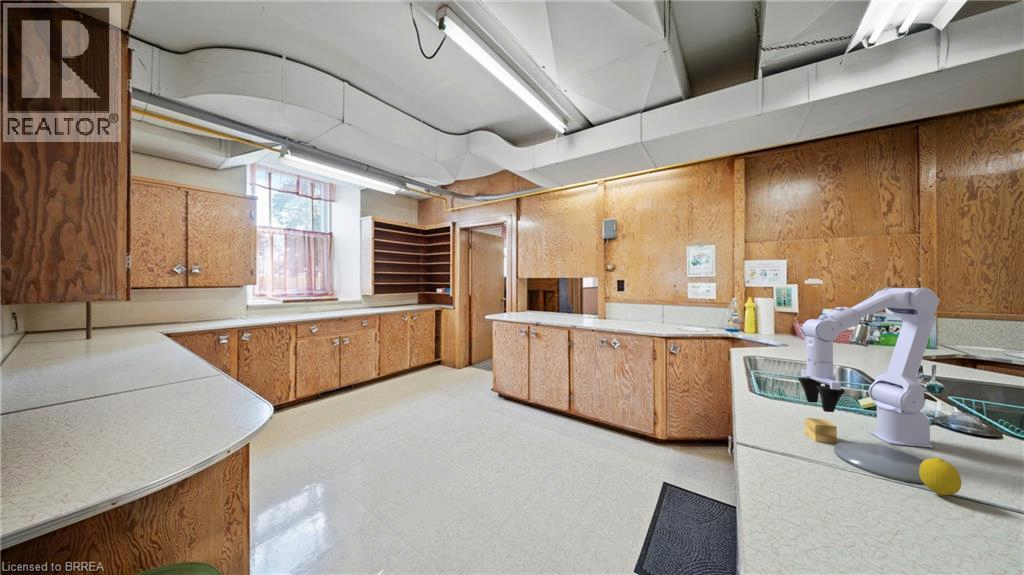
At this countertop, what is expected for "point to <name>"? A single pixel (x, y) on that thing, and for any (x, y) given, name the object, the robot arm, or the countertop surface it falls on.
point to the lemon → (940, 476)
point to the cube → (821, 430)
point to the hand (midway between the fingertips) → (820, 406)
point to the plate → (880, 461)
